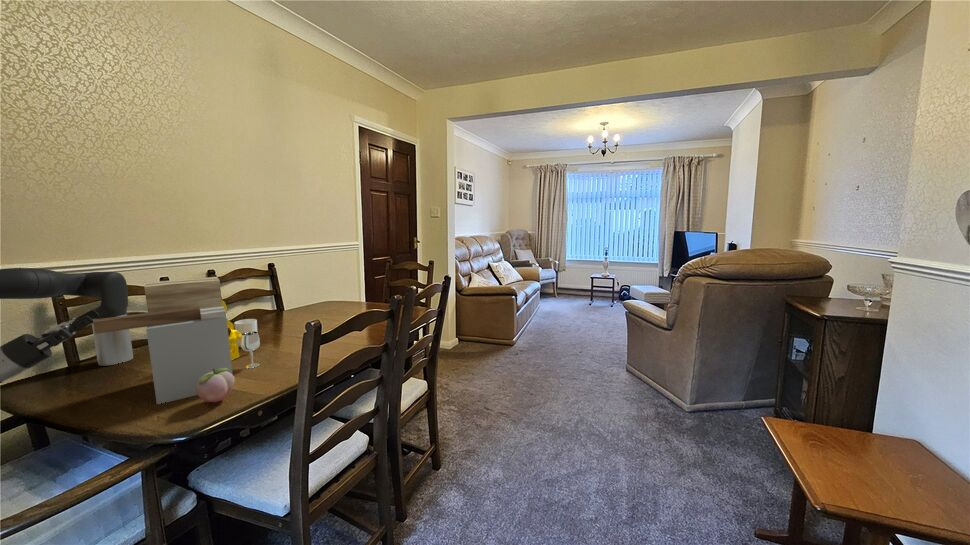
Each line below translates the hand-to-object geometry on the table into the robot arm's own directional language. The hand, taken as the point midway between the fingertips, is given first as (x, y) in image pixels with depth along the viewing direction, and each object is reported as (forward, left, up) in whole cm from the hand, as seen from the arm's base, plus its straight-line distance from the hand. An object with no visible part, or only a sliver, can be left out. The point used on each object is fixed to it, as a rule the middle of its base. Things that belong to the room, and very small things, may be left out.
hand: (93, 315), depth 97 cm
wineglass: (-10, +35, -27) cm, 45 cm away
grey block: (0, +19, -27) cm, 33 cm away
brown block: (0, +14, -5) cm, 15 cm away
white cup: (-38, +37, -27) cm, 60 cm away
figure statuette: (-24, +29, -27) cm, 46 cm away
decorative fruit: (+14, +23, -27) cm, 38 cm away
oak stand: (-12, +19, -27) cm, 35 cm away
